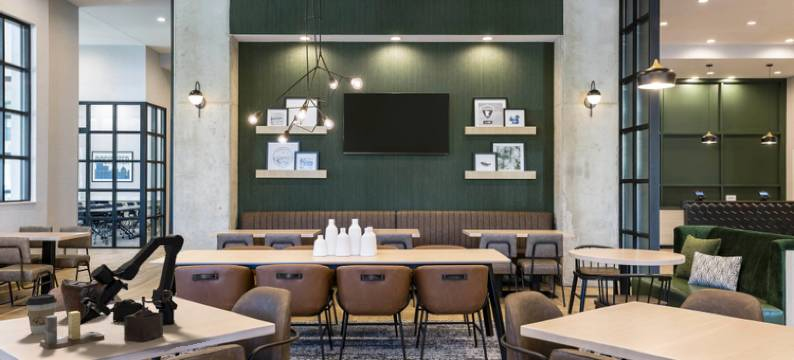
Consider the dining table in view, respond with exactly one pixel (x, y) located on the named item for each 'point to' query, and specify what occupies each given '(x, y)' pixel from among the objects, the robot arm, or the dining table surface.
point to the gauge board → (54, 342)
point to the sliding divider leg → (74, 325)
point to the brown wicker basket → (76, 294)
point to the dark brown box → (145, 322)
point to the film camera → (125, 309)
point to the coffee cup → (40, 311)
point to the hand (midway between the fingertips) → (79, 324)
